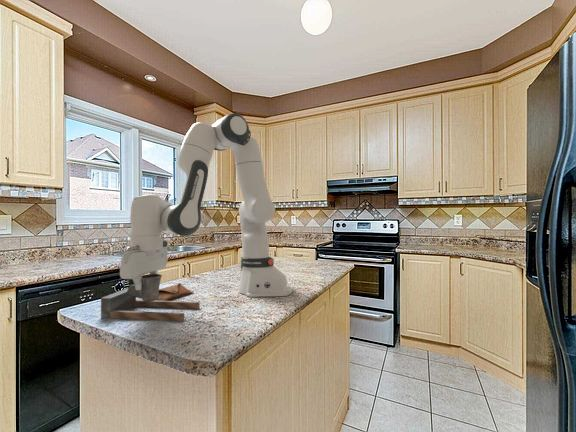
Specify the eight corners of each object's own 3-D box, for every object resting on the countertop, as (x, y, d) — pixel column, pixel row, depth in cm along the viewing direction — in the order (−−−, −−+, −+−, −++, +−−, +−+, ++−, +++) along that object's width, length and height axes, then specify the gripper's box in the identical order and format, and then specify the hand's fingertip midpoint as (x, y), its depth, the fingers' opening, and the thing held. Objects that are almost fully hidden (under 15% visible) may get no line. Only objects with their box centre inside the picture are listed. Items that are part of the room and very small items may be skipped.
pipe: (137, 295, 98) (138, 272, 98) (166, 299, 93) (167, 274, 94) (121, 299, 93) (122, 275, 93) (151, 304, 88) (152, 278, 88)
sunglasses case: (159, 305, 100) (152, 287, 101) (147, 313, 102) (140, 295, 104) (195, 292, 116) (189, 277, 118) (184, 299, 119) (177, 285, 120)
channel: (199, 307, 97) (199, 290, 97) (182, 321, 85) (182, 300, 85) (127, 305, 100) (127, 287, 100) (100, 317, 88) (101, 298, 88)
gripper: (134, 248, 82) (134, 296, 82) (171, 241, 102) (170, 280, 102) (113, 247, 83) (113, 295, 83) (154, 241, 103) (154, 279, 103)
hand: (145, 287), depth 93 cm, fingers closed on pipe, 5 cm apart
